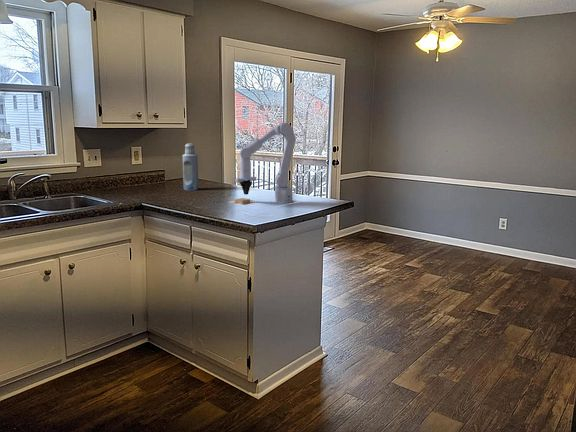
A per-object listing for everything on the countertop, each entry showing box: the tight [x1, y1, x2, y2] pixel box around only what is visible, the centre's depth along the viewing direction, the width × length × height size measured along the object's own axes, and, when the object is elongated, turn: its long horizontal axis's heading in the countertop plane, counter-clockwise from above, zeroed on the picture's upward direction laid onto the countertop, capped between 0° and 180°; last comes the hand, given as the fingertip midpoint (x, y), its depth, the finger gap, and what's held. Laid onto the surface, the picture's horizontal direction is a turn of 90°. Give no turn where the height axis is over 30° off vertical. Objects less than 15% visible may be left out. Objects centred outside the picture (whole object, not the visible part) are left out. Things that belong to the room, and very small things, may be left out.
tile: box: [234, 197, 251, 205], centre depth 270 cm, size 6×2×6 cm
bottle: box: [182, 143, 199, 191], centre depth 319 cm, size 10×10×30 cm
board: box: [228, 199, 260, 206], centre depth 272 cm, size 14×13×1 cm
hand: (246, 194), depth 271 cm, fingers closed
